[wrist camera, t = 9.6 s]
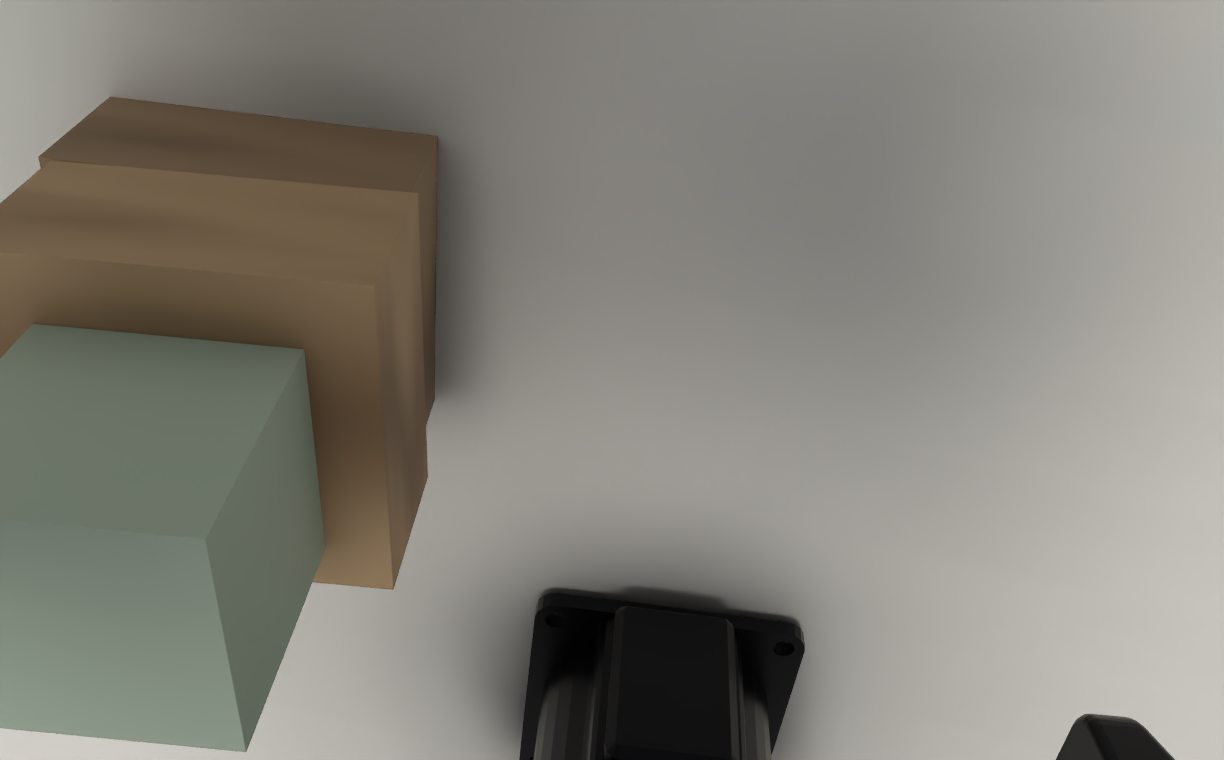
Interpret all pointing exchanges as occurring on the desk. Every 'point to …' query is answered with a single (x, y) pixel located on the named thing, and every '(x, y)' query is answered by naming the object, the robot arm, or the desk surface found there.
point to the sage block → (151, 533)
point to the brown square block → (252, 311)
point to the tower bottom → (269, 163)
